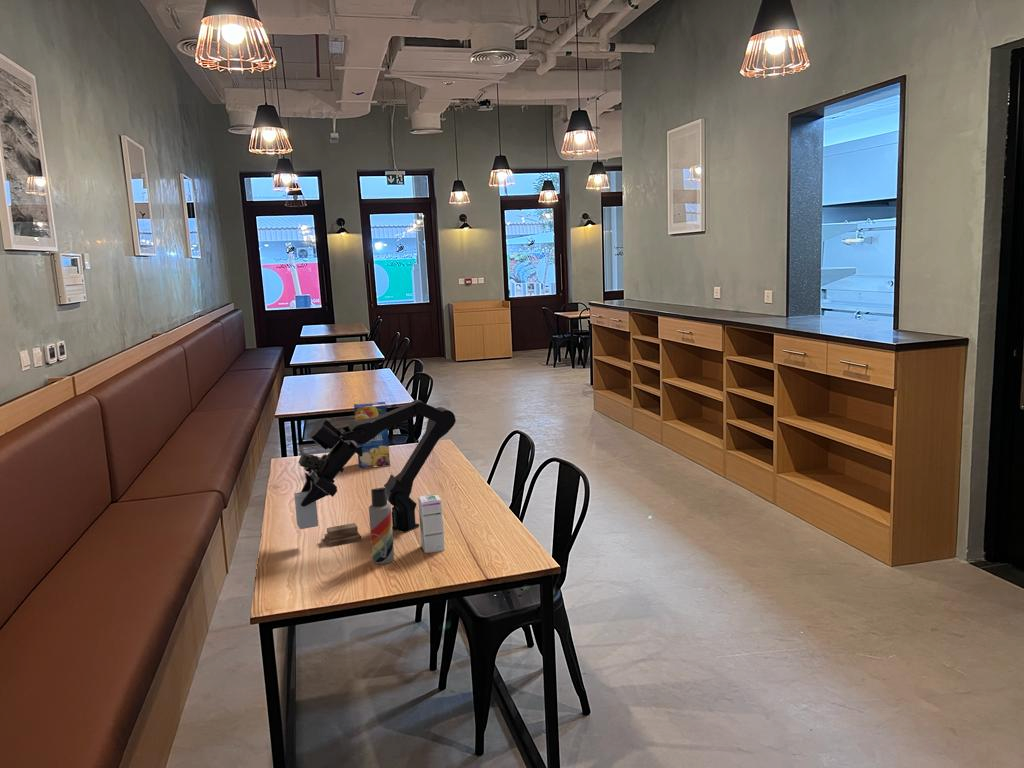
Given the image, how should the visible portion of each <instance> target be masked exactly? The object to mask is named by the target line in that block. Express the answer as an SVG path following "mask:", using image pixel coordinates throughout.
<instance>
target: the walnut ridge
mask: <svg viewBox="0 0 1024 768" xmlns="http://www.w3.org/2000/svg"><path fill="white" fill-rule="evenodd" d="M358 530H359V529H358V525H357V524H356V523H355V522H353V523H346V524H341V525H335V526H330V527H329V526H328V527H326V533H324V534H323V535H324V540H325V541H326V542H327V544H328V545H329V547H333V546H339V545H343V544H344V545H345V544H349V543H353V542H359V541H362V535H361V534H360V532H359V531H358Z"/></svg>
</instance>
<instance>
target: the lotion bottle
mask: <svg viewBox="0 0 1024 768" xmlns="http://www.w3.org/2000/svg"><path fill="white" fill-rule="evenodd" d="M370 491H371V493H370V494H371V504H370V505H369V506H368V515H369V529H370V542H371V543H370V544H371V556H372V558H371V559H372V562H373V564H377V565H386V564H389V563H392V562H394V559H395V552H394V551H395V550H394V548H395V547H394V536H393V533H394V531H393V530H392V526H393V525H392V505H391V504H390V503H389V502H388V501H387V495H386V488H385V487H384V486H383V487H378V488H372V489H371V490H370Z"/></svg>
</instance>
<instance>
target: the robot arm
mask: <svg viewBox="0 0 1024 768" xmlns="http://www.w3.org/2000/svg"><path fill="white" fill-rule="evenodd" d="M386 412H387V411H386ZM418 416H421V417H424V418H426V419H428V420H427V423H426V428H425V431H424V434H423V435H422V437H421V438H420V440H419V442H418V444H417V445H416V446H415V448H414V450H413V452H412V453H411V455H410V456H409V458H408V460H407V461H406V463H405V465H403V468H402V470H401V471H400V472H399V473H398V474H397V475H396V476H395V475H393V474H390V476H389V478H388V480H387V482H386V483H385V484H383V487H384V488H386V495H387V503H389V504H390V505H391V517H392V531H397V532H402V533H407V532H410V531H411V530H413V529H415V528H419V527H420V523H416V507H417V502H415V501H414V500H413V499H412V498H411V497H410V495H411V494H412V490H413V486H414V481H415V480H416V478H417V476H418V474H419V473H420V472H421V469H422V467H423V466H424V464H425V463H426V461H427V459H428V458H429V456H430V455H431V453H432V451H433V450H434V449H435V446H436V445H437V443H438V442H439V440H440V439H442V438H443V437H445V436H446V435H447V434H448V433H449V432H450V430H452V428H453V427H454V426H455V424H456V420H457V419H456V415H455V414H454V412H453V411H451V410H449V409H447V408H445V407H443V406H438V407H434V406H433V405H430V404H427V403H425V402H423V401H422V400H420V399H414V400H412V401H411V402H408V403H407V404H404V405H402V406H399V407H397V408H395V409H391V410H390V411H388V412H387V413H385V414H382V415H380V416H378V417H374V418H366V419H361V420H357V421H355V420H354V421H352V422H350V424H349V425H346V426H342V427H340V428H337V427H335V426H334V425H333V424H332V423H331V422H330V421H329V420H328V419H327V418H324V419H323V421H321V422H319V423H317V425H315V426H314V427H313V428H312V430H311V431H310V433H309V436H308V438H309V439H310V440H312V441H313V442H314V443H316V444H317V445H319V446H320V447H321V448H322V449H324V450H328V449H329V450H330V451H329V452H328V454H323V455H322V456H317V455H314V454H310V453H307V452H303V451H302V452H301V455H300V457H299V460H298V462H297V463H298V464H299V466H300V467H303V470H304V471H305V472H304V476H305V483H304V484H303V486H302V489H301V491H300V492H306V491H309V492H308V493H307V495H306V496H305V498H304V500H303V501H302V503H301V506H303V507H305V506H307V505H309V504H311V503H313V502H315V501H316V502H317V501H318V500H320V499H321V500H322V499H323V498H325V497H328V496H331V497H332V498H333V497H334V496H336V493H338V486H336V484H335V478H336V477H337V476H338V474H339V473H343V472H344V471H345V469H344V468H345V466H346V465H347V464H348V463H349V461H351V459H352V458H353V457H354V455H356V454H357V456H358V455H359V456H363V454H362V446H360V445H359V446H357V443H358V444H365V443H367V442H368V441H370V440H372V439H373V438H375V437H376V436H377V435H378V434H379V433H380V432H382V431H383V430H385V429H388V430H389V429H390V428H392V427H394V426H397V425H399V424H401V423H403V422H406V421H409V420H411V419H413V418H415V417H418ZM341 437H342V438H343V439H344V440H343V439H342V438H341ZM345 440H346V441H345ZM354 442H355V443H354Z"/></svg>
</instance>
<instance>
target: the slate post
mask: <svg viewBox="0 0 1024 768" xmlns="http://www.w3.org/2000/svg"><path fill="white" fill-rule="evenodd" d="M308 492H309V491H306V492H301V491H299V492H294V504H295V505H294V506H295V516H296V525H297V527H298V528H299V530H304V529H309V528H311V529H312V528H315V527H319V518H318V507H317V501H315V502H313V503H311V504H309V505H307V506H305V507H303V506H301V503H302V501H303V500H304V498H305V496H306V495H307V493H308Z"/></svg>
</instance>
